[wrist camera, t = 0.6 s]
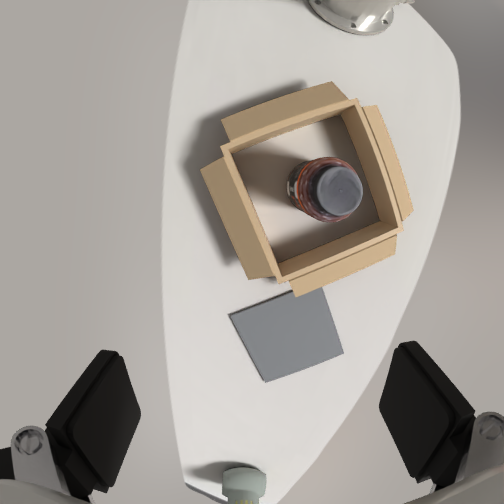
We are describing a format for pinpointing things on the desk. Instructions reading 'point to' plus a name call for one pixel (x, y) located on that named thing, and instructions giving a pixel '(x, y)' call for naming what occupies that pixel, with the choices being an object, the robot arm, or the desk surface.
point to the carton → (374, 166)
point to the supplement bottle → (325, 189)
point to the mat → (289, 333)
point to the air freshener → (243, 485)
